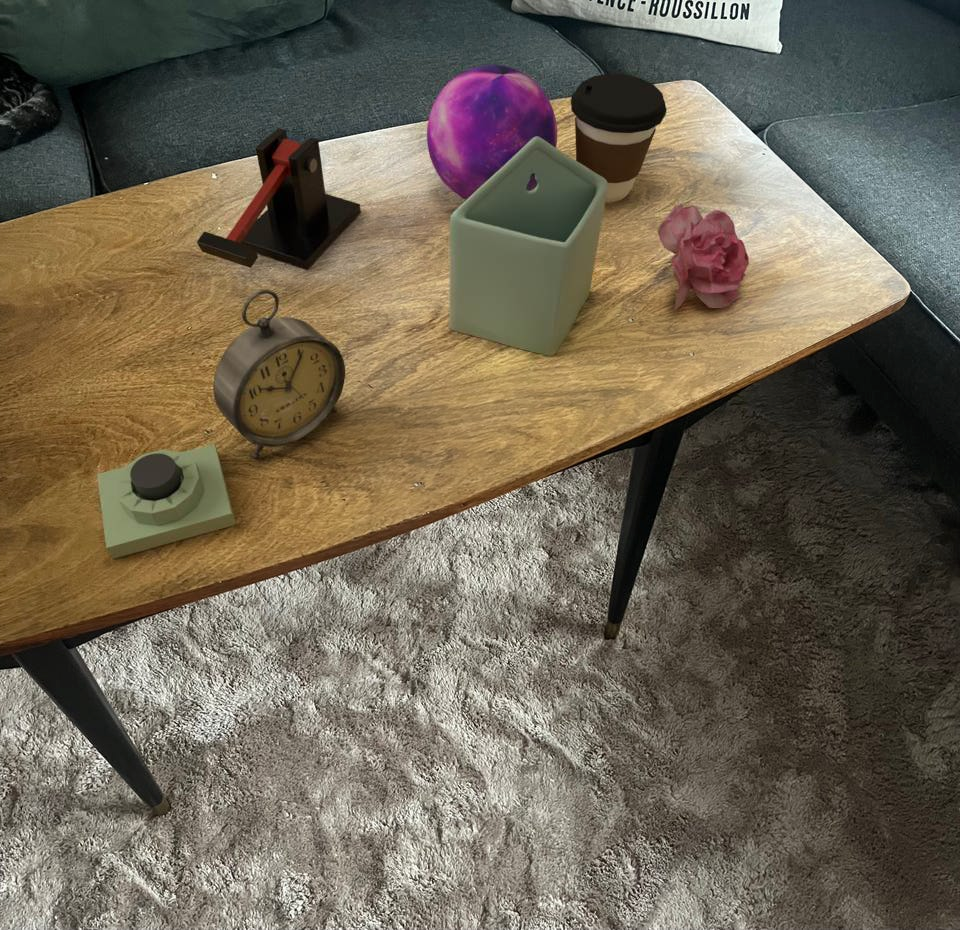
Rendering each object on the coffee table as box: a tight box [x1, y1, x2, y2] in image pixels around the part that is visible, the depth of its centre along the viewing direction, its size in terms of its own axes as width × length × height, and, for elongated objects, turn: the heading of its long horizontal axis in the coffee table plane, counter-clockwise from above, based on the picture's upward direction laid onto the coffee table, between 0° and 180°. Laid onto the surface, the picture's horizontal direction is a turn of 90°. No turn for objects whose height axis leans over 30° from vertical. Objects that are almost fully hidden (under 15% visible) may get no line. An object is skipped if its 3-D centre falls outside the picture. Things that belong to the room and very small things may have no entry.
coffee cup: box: [570, 73, 668, 203], centre depth 98 cm, size 11×11×12 cm
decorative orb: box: [426, 64, 558, 200], centre depth 96 cm, size 15×15×15 cm
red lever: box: [196, 138, 303, 269], centre depth 87 cm, size 15×6×2 cm, turn 156°
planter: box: [448, 136, 608, 357], centre depth 78 cm, size 16×8×20 cm, turn 113°
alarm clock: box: [212, 288, 346, 460], centre depth 71 cm, size 11×5×16 cm, turn 131°
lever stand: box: [241, 127, 361, 271], centre depth 92 cm, size 12×9×11 cm
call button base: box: [96, 443, 237, 560], centre depth 70 cm, size 10×8×4 cm
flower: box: [650, 203, 750, 312], centre depth 89 cm, size 11×10×10 cm
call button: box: [130, 453, 181, 501], centre depth 68 cm, size 4×4×2 cm
